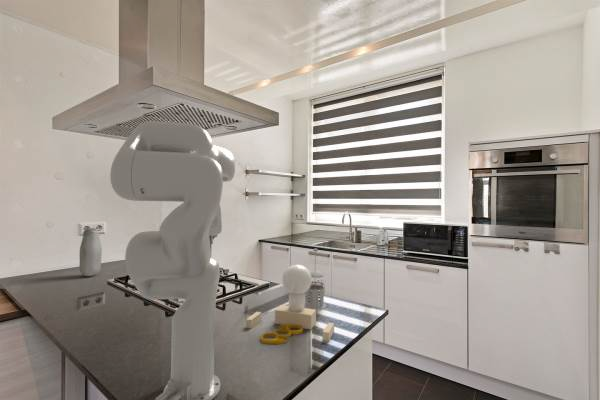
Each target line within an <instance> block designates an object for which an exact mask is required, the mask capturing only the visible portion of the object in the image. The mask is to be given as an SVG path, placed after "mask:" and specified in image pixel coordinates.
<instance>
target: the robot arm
mask: <svg viewBox="0 0 600 400" xmlns="http://www.w3.org/2000/svg"><path fill="white" fill-rule="evenodd" d="M235 172H236V163H235V157H234V155H233V153H232V152H231V151H230V150H228V149H226V148H223V147H221V146H218V145H215V144H213V141H212V138H211V135H210V134H209V133H208V132H207V130H206V129H204V128H203V127H201V126H200V125H196V124H193V123H185V122H168V121H157V120H155V121H154V120H151V121H150V120H149V121H144V122H142V123H140V124H139V125H137V126H136V127H135V128H134V129H133V130H132V131H131V133H130V134H129V135H128V137H127V138H126V139H125V141H124V142H123V144H122V146H121V147H120V148H119V149H118V152H117V153H116V155H115V156H114V158H113V161H112V163H111V168H110V173H109V177H110V178H109V179H110V184H111V187H112V189H113V191H114V193H116V195H117V196H119V197H120V198H122V199H125V200H126V201H133V202H135V201H136V202H180V203H181V202H182V203H181V204H179V205H178V206H176V207H175V208H174V209H173V210H172V211H171V212H170V213H168V214H167V216H166V217H165V218H164V219H163V221H161V224H160V227H159V230H151V231H150V230H149V231H142V232H139V233H136V234H135V235H133V237H131V239H130V240H129V242H128V243H127V245H126V250H125V254H124V255H125V258H124V259H125V260H124V262H125V268H126V272H127V275H128V276H129V279H130V281H132V283H133V285H134V286H135V288H136V289H137V291H138V293H139V294H140V296H141V297H142V298H144V299H147V300H171V299H172V300H174V299H177V300H179V299H180V300H184V301H183V302H182V303H181V304H180V305H179V307H178V308H177V309H176V310H175V312H174V313H173V316H172V320H171V347H170V348H171V350H170V351H171V352H170V354H171V355H170V357H171V358H170V361H171V362H170V366H171V367H170V378H169V380H168V381H167V384H166V385H165V387H164V388H163V392H162V393H160V394H159V395H158V396H157V397H155V398H154V400H213V399H215V398H216V397H217V396H218V394H219V392H220V391H221V390H220V389H221V380H220V378H219V377H218V375H216V374H215V339H216V336H215V335H216V333H215V329H216V325H215V324H216V303H217V294H218V288H219V283H220V282H219V281H220V275H221V270H220V264H219V263H218V261H217V260H216V259H215V258H212V245H213V243H214V239H215V238H217V237H218V235H220V234H221V233H222V230H223V229H222V224H223V223H222V210H221V200H222V199H221V198H222V193H223V186H224V185H223V184H224V183H225V182H231V181H232V180H233V178H234V177H235Z"/></svg>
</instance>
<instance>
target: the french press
mask: <svg viewBox="0 0 600 400" xmlns="http://www.w3.org/2000/svg"><path fill="white" fill-rule="evenodd" d="M312 251H313V252H314V268H316V267H317V266H316V263H317V262H316V259H317V257H316V255H317V253H316V252H318V251H319V250H318V248H313V250H312ZM309 271H310V273H311V277H312V279H317V278H318V280H317V281H316V280H314V281H313V280H312V283H311V286H310V288H309V289H308V290H307V291H306V292H305V308H308V309H315V310H316V311H321V310H324V309H325V308H327V307H326V305H325V304H324V302H325V301H324V297H325V296H324V295H325V293H326V292H325V291H326V289H325V283H324V280H321V281H320V280H319V278H323V277H324V276H325V274H324V273H323V272H322V271H320V270H316V269H313V270H309Z"/></svg>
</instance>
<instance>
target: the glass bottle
mask: <svg viewBox="0 0 600 400" xmlns="http://www.w3.org/2000/svg"><path fill="white" fill-rule="evenodd" d="M102 248H103V247H102V243H101V239H100V232H99V230H98V228H95V227H87V228H85V229H84V230H83V232H82V239H81V243H80V247H79V273H81V275H82V276H83V277H94V276H96V275H98V273H99V272H100V271H101V268H102V267H101V266H102V252H103V251H102Z"/></svg>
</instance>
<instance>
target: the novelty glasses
mask: <svg viewBox="0 0 600 400" xmlns="http://www.w3.org/2000/svg"><path fill="white" fill-rule="evenodd" d="M277 328H278V329H275V330H274V331H273V332H267V333H263V334H262V335H261V336H260V338H259V339H260V342H261V343H263V344H266V345H282V344H286V343H287V342H288V340H287V339H290V338H291V336H292V335H299V334H302V333H303V332H304V328H302V327H301V326H299V325H292V324H285V325H280V324H279V326H278V327H277ZM292 329H293V330H292ZM297 329H298V330H297ZM280 333H286V334H280ZM267 337H273V338H272V339H271V338H267Z"/></svg>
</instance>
